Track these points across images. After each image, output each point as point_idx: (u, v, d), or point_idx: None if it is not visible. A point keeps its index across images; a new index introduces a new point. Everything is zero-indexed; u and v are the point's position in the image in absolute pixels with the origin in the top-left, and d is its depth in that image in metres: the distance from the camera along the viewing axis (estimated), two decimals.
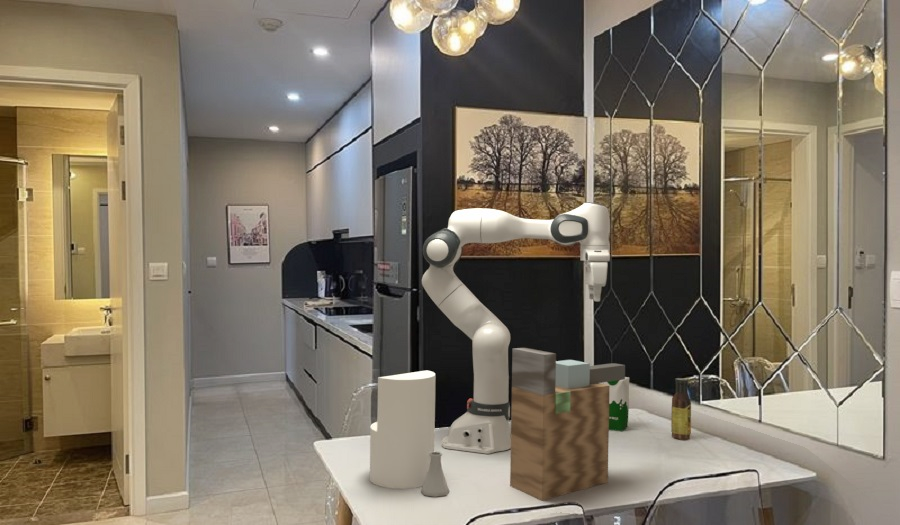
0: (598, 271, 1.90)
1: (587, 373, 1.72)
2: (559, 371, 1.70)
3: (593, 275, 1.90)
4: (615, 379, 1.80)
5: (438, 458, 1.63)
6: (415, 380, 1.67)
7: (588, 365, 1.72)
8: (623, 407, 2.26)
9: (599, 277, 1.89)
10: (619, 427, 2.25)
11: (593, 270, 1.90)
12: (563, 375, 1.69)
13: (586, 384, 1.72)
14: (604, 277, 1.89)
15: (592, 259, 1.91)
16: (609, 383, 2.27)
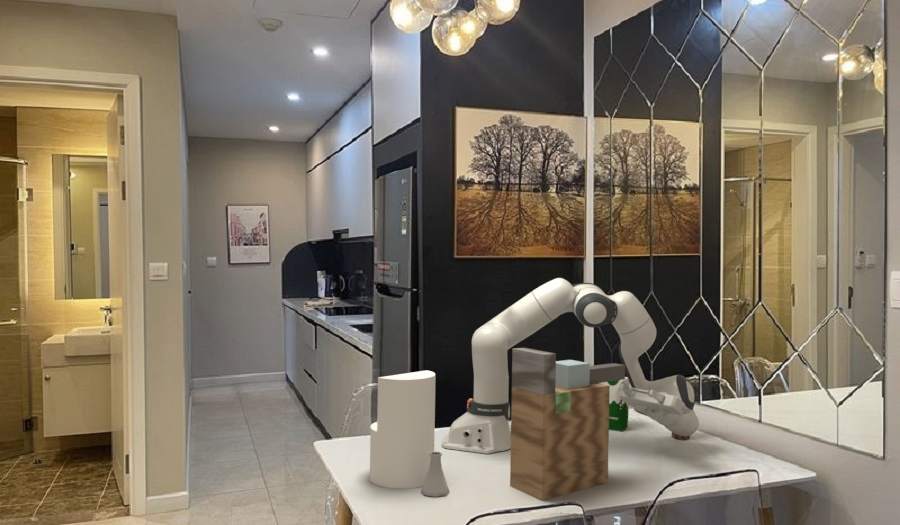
0: None
1: (587, 373, 1.72)
2: (559, 371, 1.70)
3: None
4: (615, 379, 1.80)
5: (438, 458, 1.63)
6: (415, 380, 1.67)
7: (588, 365, 1.72)
8: (623, 407, 2.26)
9: None
10: (619, 427, 2.25)
11: None
12: (563, 375, 1.69)
13: (586, 384, 1.72)
14: None
15: None
16: (609, 383, 2.27)
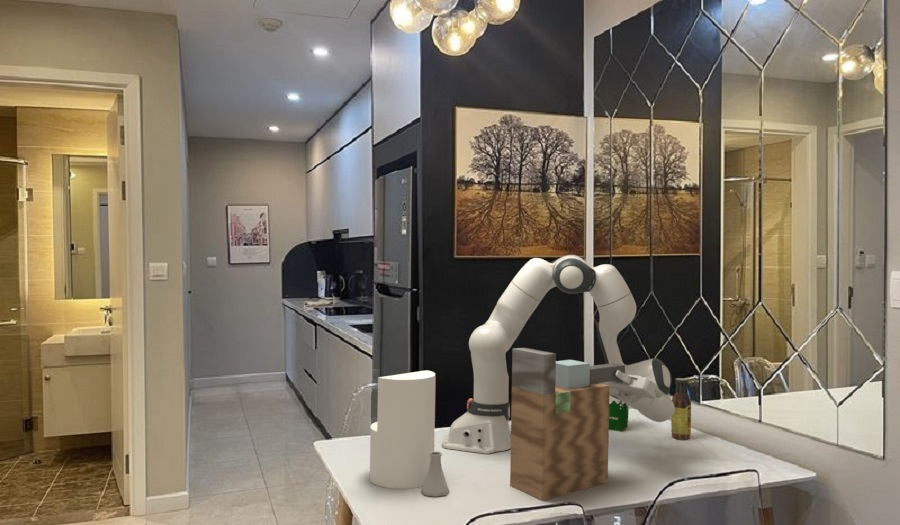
0: None
1: (587, 373, 1.72)
2: (559, 371, 1.70)
3: None
4: (615, 379, 1.80)
5: (438, 458, 1.63)
6: (415, 380, 1.67)
7: (588, 365, 1.72)
8: (623, 407, 2.26)
9: None
10: (619, 427, 2.25)
11: None
12: (563, 375, 1.69)
13: (586, 384, 1.72)
14: None
15: None
16: None
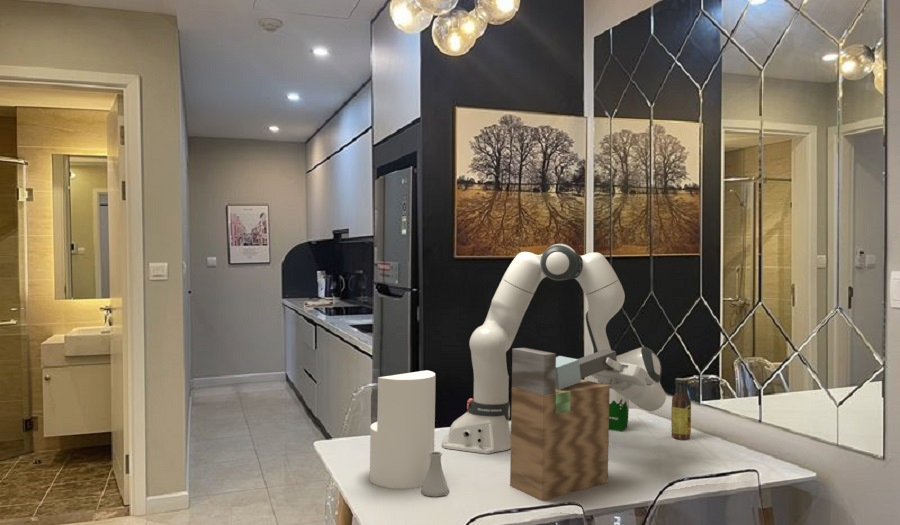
0: None
1: (577, 370, 1.70)
2: None
3: None
4: (607, 367, 1.78)
5: (438, 458, 1.63)
6: (415, 380, 1.67)
7: (577, 361, 1.70)
8: (623, 407, 2.26)
9: None
10: (619, 427, 2.25)
11: None
12: None
13: (578, 381, 1.70)
14: None
15: None
16: None
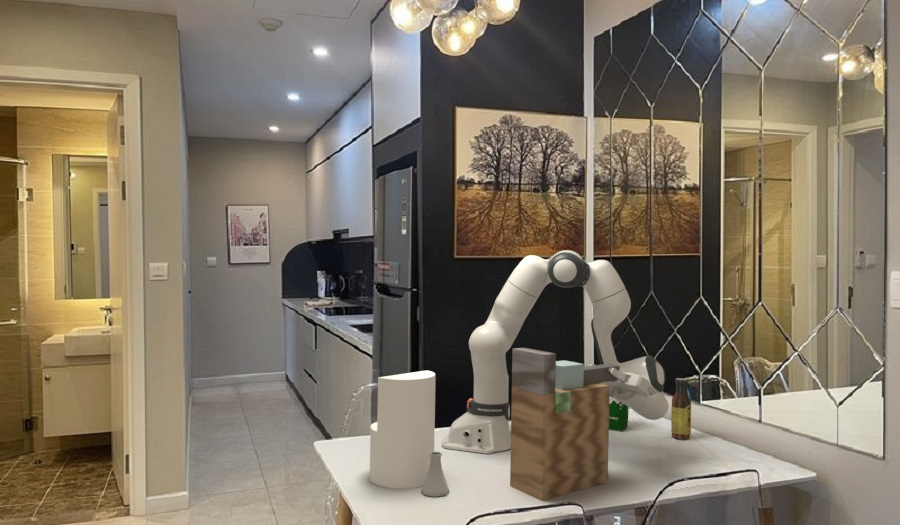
0: None
1: (581, 374, 1.70)
2: None
3: None
4: (609, 380, 1.79)
5: (438, 458, 1.63)
6: (415, 380, 1.67)
7: (582, 366, 1.71)
8: (623, 407, 2.26)
9: None
10: (619, 427, 2.25)
11: None
12: (557, 376, 1.68)
13: (580, 385, 1.70)
14: None
15: None
16: None
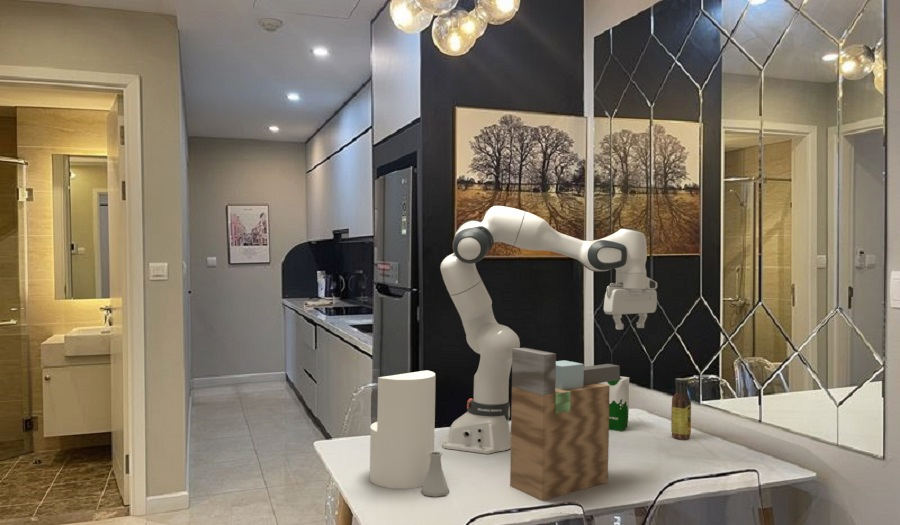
0: None
1: (581, 374, 1.70)
2: None
3: None
4: (609, 380, 1.79)
5: (438, 458, 1.63)
6: (415, 380, 1.67)
7: (582, 366, 1.71)
8: (623, 407, 2.26)
9: None
10: (619, 427, 2.25)
11: None
12: (557, 376, 1.68)
13: (580, 385, 1.70)
14: None
15: None
16: (609, 383, 2.27)
